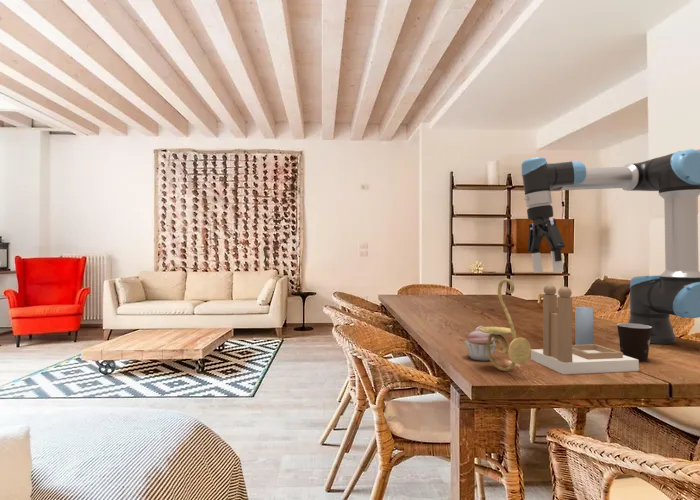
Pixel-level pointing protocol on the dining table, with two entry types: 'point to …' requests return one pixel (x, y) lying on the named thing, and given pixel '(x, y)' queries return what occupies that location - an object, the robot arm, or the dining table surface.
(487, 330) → the wall sconce
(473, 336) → the cupcake
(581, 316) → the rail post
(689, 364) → the dining table surface
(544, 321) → the peg insertion fixture
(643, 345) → the coffee mug
